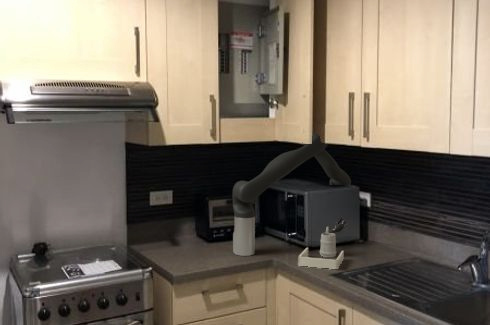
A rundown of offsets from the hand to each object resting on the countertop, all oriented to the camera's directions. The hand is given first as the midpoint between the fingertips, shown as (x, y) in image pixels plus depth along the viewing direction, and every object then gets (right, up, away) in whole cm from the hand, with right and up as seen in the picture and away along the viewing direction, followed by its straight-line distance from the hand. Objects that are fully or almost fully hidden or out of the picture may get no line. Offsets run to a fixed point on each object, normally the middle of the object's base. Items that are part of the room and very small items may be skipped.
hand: (331, 238), depth 254 cm
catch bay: (-8, -7, -22) cm, 25 cm away
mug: (-3, -6, -8) cm, 11 cm away
